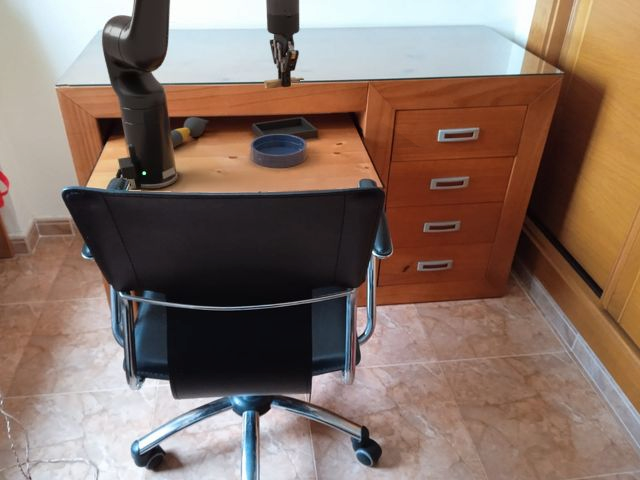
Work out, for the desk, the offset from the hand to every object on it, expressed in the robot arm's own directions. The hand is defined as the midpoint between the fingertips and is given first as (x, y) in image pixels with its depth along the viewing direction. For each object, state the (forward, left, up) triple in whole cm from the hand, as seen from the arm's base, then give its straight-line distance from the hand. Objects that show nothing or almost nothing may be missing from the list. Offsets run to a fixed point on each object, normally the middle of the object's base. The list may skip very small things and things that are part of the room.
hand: (284, 85), depth 133 cm
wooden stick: (0, 0, 0) cm, 0 cm away
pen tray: (0, 0, -13) cm, 13 cm away
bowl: (-7, -12, -13) cm, 19 cm away
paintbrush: (-26, +5, -14) cm, 29 cm away
